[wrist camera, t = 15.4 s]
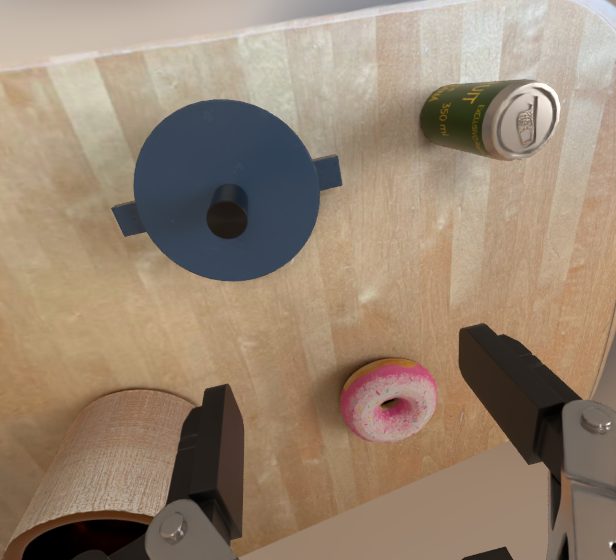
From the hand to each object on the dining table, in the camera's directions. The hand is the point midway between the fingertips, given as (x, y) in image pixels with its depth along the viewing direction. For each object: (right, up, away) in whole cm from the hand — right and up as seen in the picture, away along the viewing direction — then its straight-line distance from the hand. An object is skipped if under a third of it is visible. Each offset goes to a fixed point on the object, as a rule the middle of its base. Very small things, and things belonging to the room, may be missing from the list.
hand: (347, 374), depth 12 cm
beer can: (+12, +20, +23) cm, 33 cm away
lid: (-7, +9, +15) cm, 20 cm away
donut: (+9, -12, +39) cm, 42 cm away
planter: (-23, -17, +36) cm, 47 cm away
